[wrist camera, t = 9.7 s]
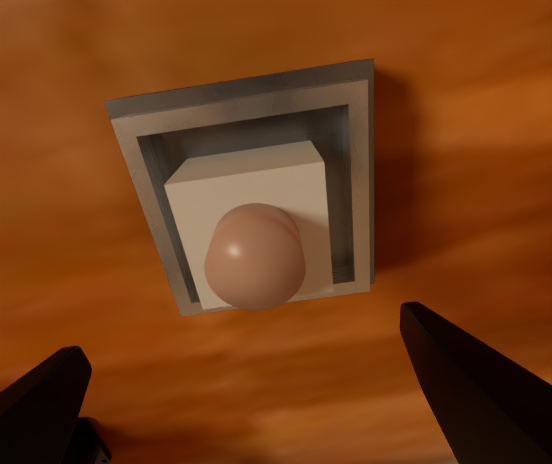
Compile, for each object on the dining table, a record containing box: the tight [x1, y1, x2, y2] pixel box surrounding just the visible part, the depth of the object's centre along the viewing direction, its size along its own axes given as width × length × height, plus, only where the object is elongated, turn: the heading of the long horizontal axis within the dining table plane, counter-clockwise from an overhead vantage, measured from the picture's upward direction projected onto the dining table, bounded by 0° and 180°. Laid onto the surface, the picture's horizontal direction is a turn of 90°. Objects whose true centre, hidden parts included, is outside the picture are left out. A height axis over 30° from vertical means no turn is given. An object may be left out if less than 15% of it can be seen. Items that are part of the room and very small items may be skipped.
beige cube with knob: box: [164, 141, 334, 311], centre depth 14 cm, size 6×6×6 cm
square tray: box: [104, 58, 374, 316], centre depth 17 cm, size 12×12×4 cm
